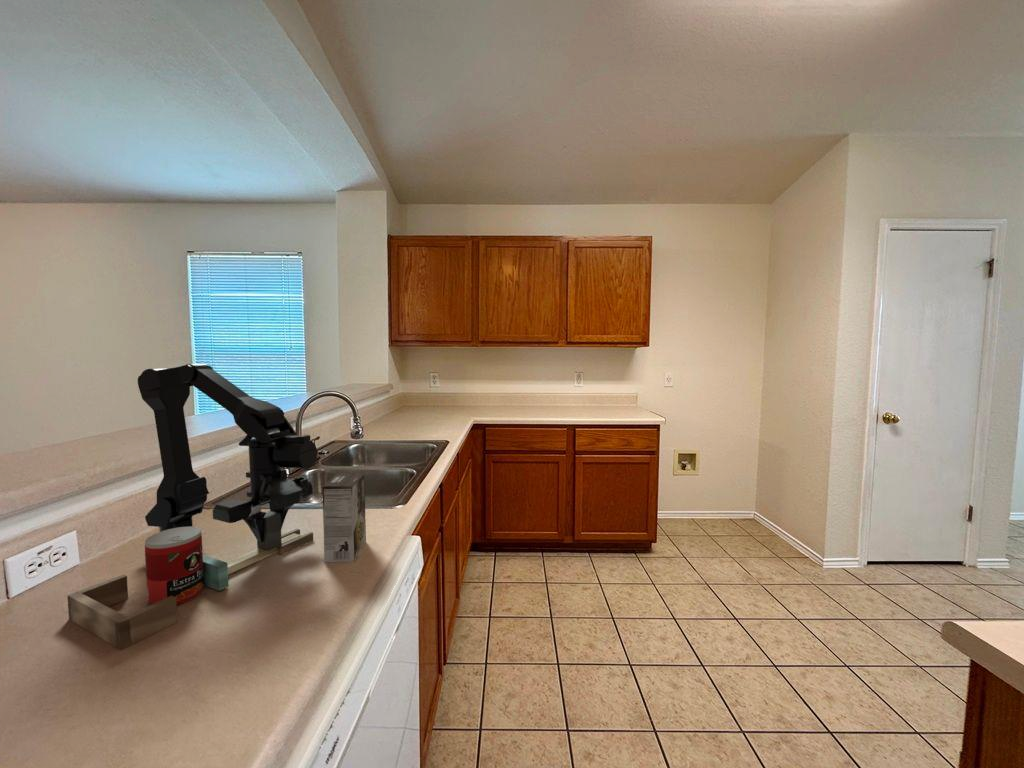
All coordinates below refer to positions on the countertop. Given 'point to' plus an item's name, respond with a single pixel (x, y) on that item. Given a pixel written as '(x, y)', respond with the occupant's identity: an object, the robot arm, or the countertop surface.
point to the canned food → (174, 564)
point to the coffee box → (344, 517)
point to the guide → (294, 541)
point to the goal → (111, 625)
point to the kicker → (219, 570)
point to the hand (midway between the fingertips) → (269, 538)
